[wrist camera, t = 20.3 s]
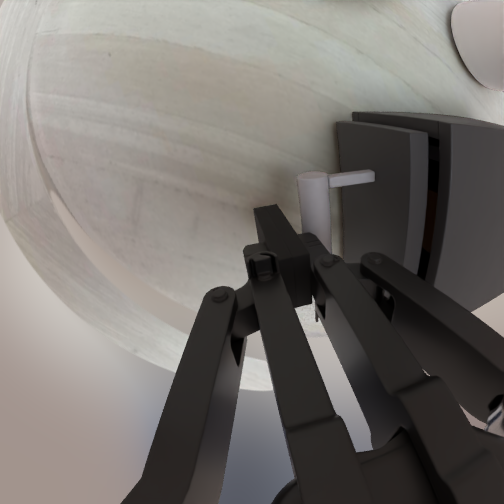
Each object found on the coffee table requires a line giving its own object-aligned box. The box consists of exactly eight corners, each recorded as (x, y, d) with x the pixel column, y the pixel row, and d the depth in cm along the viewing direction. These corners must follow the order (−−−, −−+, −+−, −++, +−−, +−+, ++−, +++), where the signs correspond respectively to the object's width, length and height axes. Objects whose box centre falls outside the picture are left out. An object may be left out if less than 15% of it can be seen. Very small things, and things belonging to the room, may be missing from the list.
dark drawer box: (357, 263, 23) (418, 339, 14) (351, 111, 17) (451, 122, 8) (464, 233, 23) (524, 279, 15) (472, 118, 17) (549, 140, 9)
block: (390, 223, 19) (429, 253, 15) (391, 172, 17) (437, 193, 13) (426, 215, 19) (466, 241, 15) (429, 168, 17) (474, 188, 13)
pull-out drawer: (292, 279, 22) (325, 353, 15) (272, 128, 16) (316, 137, 9) (454, 237, 22) (505, 277, 15) (462, 123, 17) (530, 142, 10)
